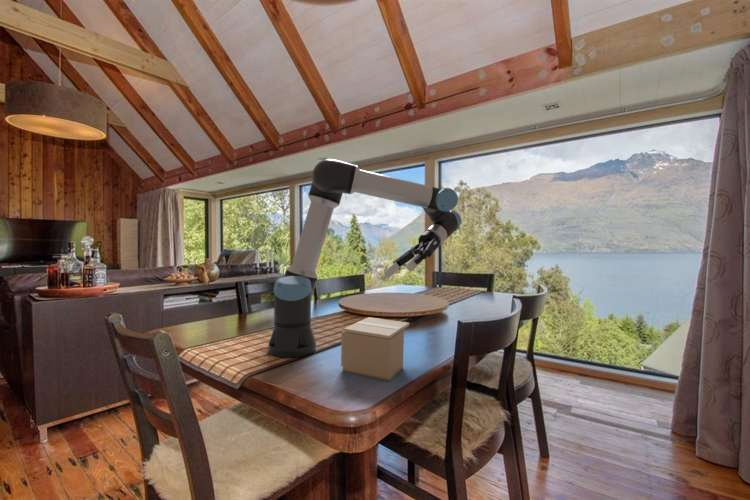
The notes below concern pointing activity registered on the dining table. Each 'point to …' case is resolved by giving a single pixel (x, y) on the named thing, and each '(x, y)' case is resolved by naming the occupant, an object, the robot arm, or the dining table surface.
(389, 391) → the dining table surface
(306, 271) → the robot arm
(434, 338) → the dining table surface
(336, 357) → the dining table surface
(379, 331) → the flap
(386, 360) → the carton
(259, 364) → the dining table surface
